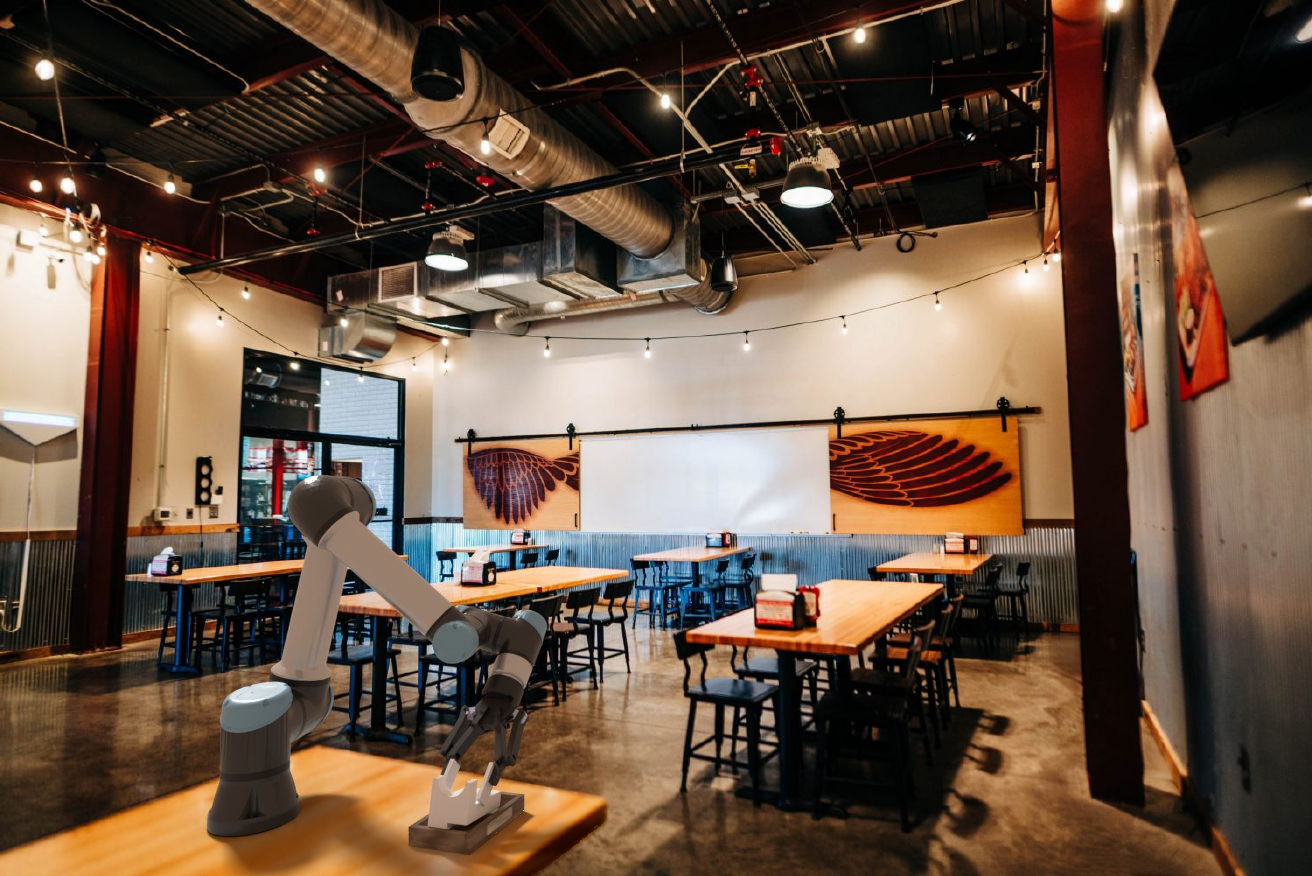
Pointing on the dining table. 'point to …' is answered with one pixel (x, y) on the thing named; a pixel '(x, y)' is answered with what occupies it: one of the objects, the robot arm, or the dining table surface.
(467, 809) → the bracket
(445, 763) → the robot arm
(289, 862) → the dining table surface
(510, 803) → the walnut tray
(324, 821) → the dining table surface
